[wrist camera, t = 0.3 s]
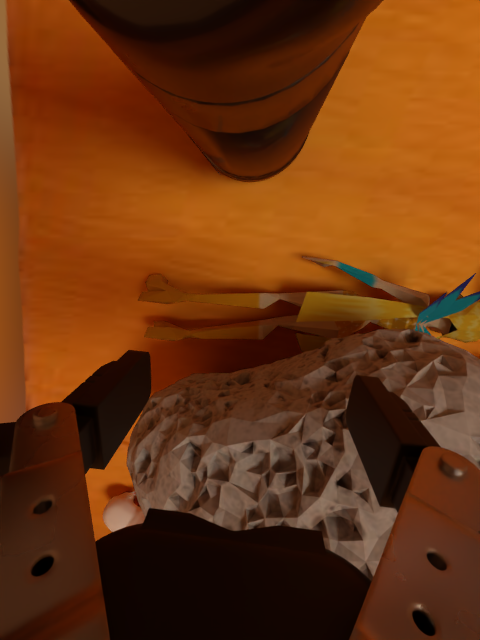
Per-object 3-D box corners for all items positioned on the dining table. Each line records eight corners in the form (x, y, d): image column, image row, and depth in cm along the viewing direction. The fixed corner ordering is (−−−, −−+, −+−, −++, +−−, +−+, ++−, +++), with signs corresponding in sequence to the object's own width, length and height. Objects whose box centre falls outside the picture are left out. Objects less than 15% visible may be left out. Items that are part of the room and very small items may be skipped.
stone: (153, 474, 31) (165, 337, 33) (361, 477, 33) (358, 347, 35) (-18, 787, 8) (58, 280, 10) (698, 737, 10) (627, 318, 12)
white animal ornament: (154, 618, 33) (67, 560, 32) (180, 542, 41) (111, 495, 40) (182, 593, 31) (90, 531, 30) (204, 519, 39) (131, 468, 38)
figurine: (167, 344, 32) (451, 358, 29) (136, 387, 25) (508, 412, 22) (154, 246, 28) (488, 250, 24) (112, 265, 21) (575, 274, 17)
